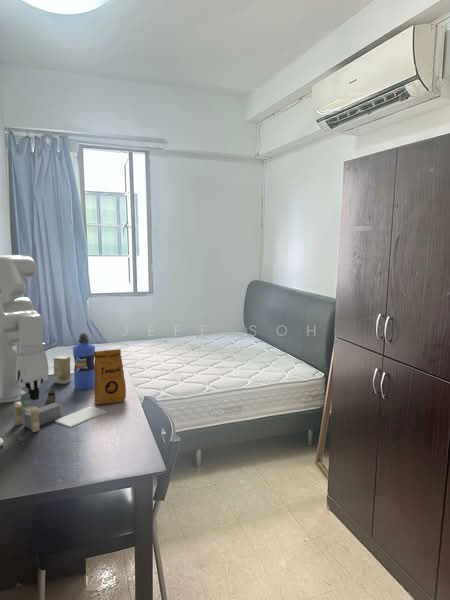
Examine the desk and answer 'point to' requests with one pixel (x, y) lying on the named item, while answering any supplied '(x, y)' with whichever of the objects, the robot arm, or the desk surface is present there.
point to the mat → (80, 416)
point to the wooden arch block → (26, 406)
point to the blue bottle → (84, 364)
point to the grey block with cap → (44, 414)
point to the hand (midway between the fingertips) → (34, 398)
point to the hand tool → (50, 397)
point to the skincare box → (62, 369)
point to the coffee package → (109, 377)
